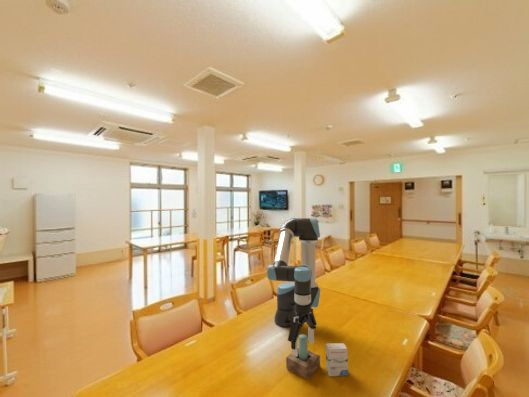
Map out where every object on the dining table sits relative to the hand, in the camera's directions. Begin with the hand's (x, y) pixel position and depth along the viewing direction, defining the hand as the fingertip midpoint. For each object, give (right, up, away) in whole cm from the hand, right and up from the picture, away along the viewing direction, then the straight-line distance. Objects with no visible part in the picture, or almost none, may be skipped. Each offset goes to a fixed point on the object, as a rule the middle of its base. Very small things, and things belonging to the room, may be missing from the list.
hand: (303, 348), depth 116 cm
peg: (0, -8, 0) cm, 9 cm away
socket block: (0, -8, 0) cm, 9 cm away
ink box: (+14, -9, -4) cm, 17 cm away
